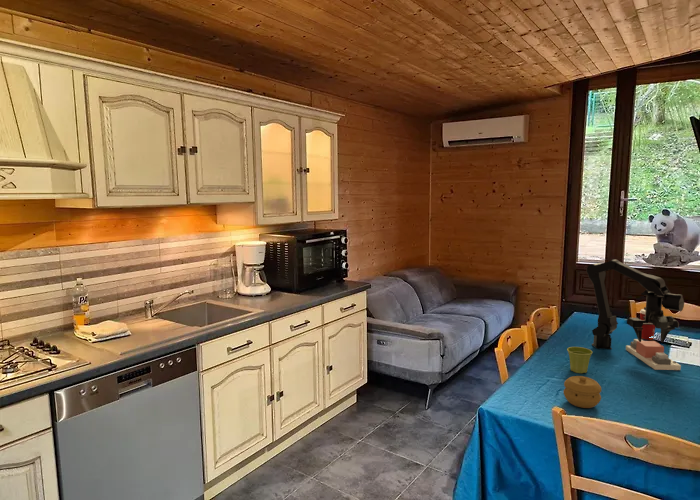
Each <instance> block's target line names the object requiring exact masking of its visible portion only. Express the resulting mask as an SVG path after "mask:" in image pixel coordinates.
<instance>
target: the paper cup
mask: <svg viewBox="0 0 700 500" xmlns="http://www.w3.org/2000/svg"><path fill="white" fill-rule="evenodd" d="M645 311H646V310H644V308H641V309H640V311H639V313H640V314H639V319H640V320H645V319H643V316H645ZM648 323H650V322H648ZM642 328H643V330H642V340H645V341H654V337H655V331H656V327H655V326H654V325H643V326H642ZM651 336H654V337H653V338H649V337H651Z"/></svg>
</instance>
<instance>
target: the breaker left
mask: <svg viewBox="0 0 700 500" xmlns="http://www.w3.org/2000/svg"><path fill="white" fill-rule="evenodd" d="M637 341H639V340H638V338H634V339H633V341H632V342H633V343H635V344H636V345H637ZM641 341H644V339H641Z"/></svg>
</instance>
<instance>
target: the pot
mask: <svg viewBox="0 0 700 500" xmlns="http://www.w3.org/2000/svg"><path fill="white" fill-rule="evenodd" d="M563 387H564V389H563V392H562V393H563V396H564V397H565V399H566V400H567V402H568V403H569V404H571V405H572V406H575V407H577V408H582V409H592V408H594V407H596V406H597V405H598V404H599V403H600V401H602V396H601V393H602V386H601V385H600V384H599V383H598V381H597V380H595V379H594V378H591V377H589V376H583V375H576V376H575V375H573V376H570V377H568V378H567V379H565V381H564V382H563Z"/></svg>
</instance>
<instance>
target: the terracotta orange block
mask: <svg viewBox="0 0 700 500" xmlns="http://www.w3.org/2000/svg"><path fill="white" fill-rule="evenodd" d="M636 352H637V353H639V354H640V355H642V356H643V357H645V358H652V356H656V353H665V346H664V345H662V344H660V343H659V342H658V341H656V340H643V341H641V342H639V341H637V346H636Z"/></svg>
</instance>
